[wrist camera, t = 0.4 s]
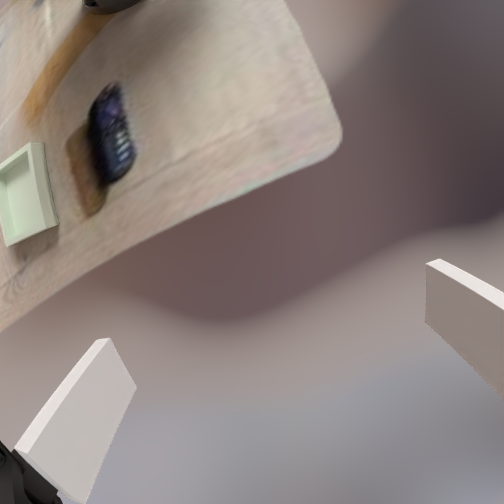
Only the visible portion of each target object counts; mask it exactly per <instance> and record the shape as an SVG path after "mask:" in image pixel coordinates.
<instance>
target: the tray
mask: <svg viewBox="0 0 504 504" xmlns="http://www.w3.org/2000/svg"><path fill="white" fill-rule="evenodd" d="M0 225H1V229H2V233H3V237H4V241H5V245H6V247H8V246H11V245H14V244H16V243H19V242H21V241H23V240H25V239H27V238H29V237H32V236H34V235H36V234H38V233H40V232H43V231H45V230H47V229H49V228H52V227H54V226H56V225H59V222H58V218H57V214H56V210H55V205H54V201H53V196H52V191H51V186H50V181H49V176H48V170H47V163H46V157H45V149H44V143H39V142H29V143H28V144H27V145H25V146H24V147H22V148H21V149H20V150H18V151H17V152H15V153H14V154H13V155H11V156H10V157H9V158H8V159H6V160H5V161H4V162H2V163H1V164H0Z"/></svg>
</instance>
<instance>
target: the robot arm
mask: <svg viewBox="0 0 504 504" xmlns="http://www.w3.org/2000/svg"><path fill="white" fill-rule="evenodd" d="M139 1H140V0H82V3H83V4H84V6H85V7H86V8H87V9H88V10H89V11H91V12H92V13H95V14H109V13H114V12H117V11H120V10H123V9H125V8H127V7H129V6H131V5H133V4H135V3H137V2H139ZM425 315H426V316H425V322H426V323H427V324H428V325H429V326H430V327H431V328H432V329H433V330H434V331H435V332H436V333H438V334H439V335H440V336H441V337H442V338H443V339H444V340H445V341H446V342H447V343H448V344H449V345H450V346H451V347H452V348H453V349H454V350H455V351H457V353H458V354H459V355H461V356H462V357H463V358H464V359H465V360H466V361H467V362H468V363H469V364H470V365H471V366H472V367H473V368H474V369H475V370H476V371H477V373H478V374H479V375H480V376H482V378H483V379H484V380H485V381H486V382H487V383H488V384H489V385H490V386H491V387H492V388H493V389H494V390H495V391H496V392H497V393H498V394H499V395H500V397H501V398H502V399H503V400H504V293H503V292H501V291H500V290H498V289H496V288H494V287H493V286H491V285H489V284H487V283H485V282H483V281H482V280H480V279H478V278H476V277H474V276H472V275H471V274H469V273H467V272H465V271H463V270H461V269H459V268H457V267H455V266H453V265H451V264H449V263H447V262H445V261H443V260H441V259H437V260H434V261H431V262H429V263H426V313H425ZM136 388H137V387H136V385H135V384H134V382H133V380H132V378H131V377H130V375H129V373H128V371H127V370H126V368H125V366H124V364H123V362H122V360H121V358H120V357H119V355H118V353H117V351H116V349H115V347H114V345H113V343H112V341H111V339H110V338H105V339H97V340H96V341H95V342H94V343H93V345H92V346H91V347H90V348H89V350H88V351H87V352H86V353H85V354H84V355H83V357H82V358H81V359H80V360H79V362H78V363H77V364H76V365H75V366H74V368H73V369H72V370H71V371H70V373H69V374H68V375H67V376H66V378H65V379H64V380H63V382H62V383H61V384H60V385H59V387H58V388H57V389H56V391H55V392H54V393H53V394H52V396H51V397H50V398H49V400H48V401H47V402H46V404H45V405H44V406H43V408H42V409H41V410H40V412H39V413H38V415H37V416H36V417H35V419H34V420H33V421H32V423H31V424H30V426H29V427H28V429H27V430H26V431H25V433H24V434H23V436H22V437H21V439H20V440H19V441H18V443H17V444H16V446H15V447H14V450H13V451H12V452H10V451H9V450H8V449H7V448H6V447H5V446H4V445H3V443H2V442H1V441H0V504H63V503H62V501H61V499H60V498H59V497H58V496H57V495H56V494H57V492H58V491H60V492H61V493H62V494H63V495H64V496H66V497H67V498H68V499H70V500H72V501H75V502H78V503H81V504H86V502H87V500H88V497H89V495H90V492H91V489H92V487H93V485H94V482H95V480H96V477H97V475H98V473H99V470H100V468H101V465H102V463H103V461H104V458H105V456H106V454H107V452H108V449H109V447H110V445H111V442H112V440H113V438H114V436H115V433H116V431H117V429H118V427H119V425H120V422H121V420H122V418H123V416H124V414H125V411H126V409H127V407H128V405H129V403H130V401H131V399H132V397H133V395H134V392H135V390H136Z"/></svg>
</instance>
